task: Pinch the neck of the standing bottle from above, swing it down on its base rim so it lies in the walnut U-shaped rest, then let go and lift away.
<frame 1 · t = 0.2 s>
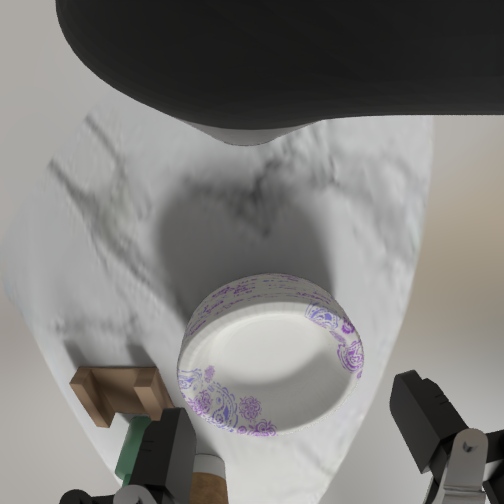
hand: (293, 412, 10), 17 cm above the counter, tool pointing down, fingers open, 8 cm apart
coffee cup: (206, 461, 37), on the counter
bottle: (147, 427, 34), on the counter
paper bowls: (265, 329, 29), on the counter
cradle: (127, 391, 32), on the counter
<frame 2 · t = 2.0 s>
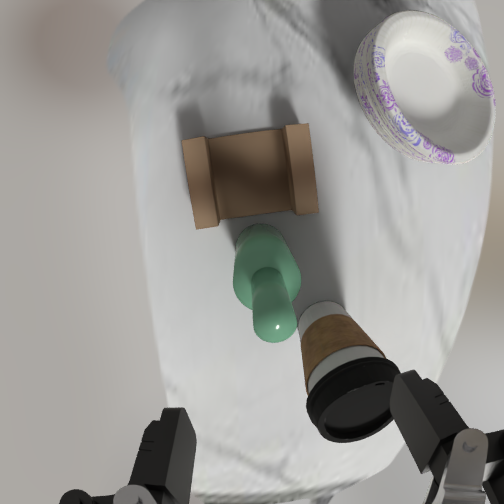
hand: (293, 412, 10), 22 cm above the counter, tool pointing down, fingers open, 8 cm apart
coffee cup: (322, 322, 33), on the counter
bottle: (260, 247, 30), on the counter
paper bowls: (404, 95, 26), on the counter
cradle: (250, 173, 28), on the counter
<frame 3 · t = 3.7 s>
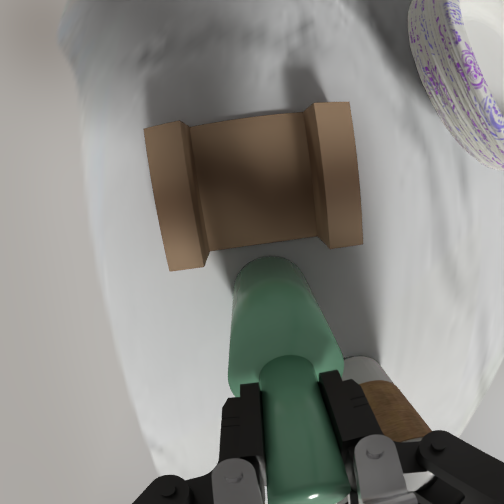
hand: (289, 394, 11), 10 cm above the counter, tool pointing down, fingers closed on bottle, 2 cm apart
coffee cup: (349, 380, 23), on the counter
bottle: (270, 291, 20), on the counter, touching gripper
paper bowls: (461, 77, 16), on the counter
cradle: (255, 180, 18), on the counter
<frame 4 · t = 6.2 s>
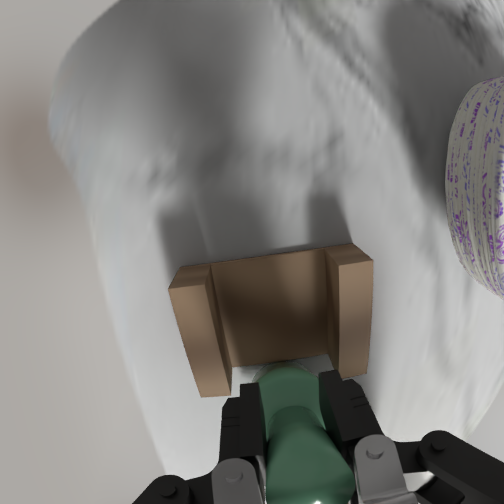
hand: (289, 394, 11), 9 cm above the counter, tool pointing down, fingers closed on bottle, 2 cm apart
bottle: (283, 392, 20), point 1 cm above the counter, tilted 33°, touching cradle, gripper
paper bowls: (486, 179, 17), on the counter
cradle: (274, 312, 20), on the counter
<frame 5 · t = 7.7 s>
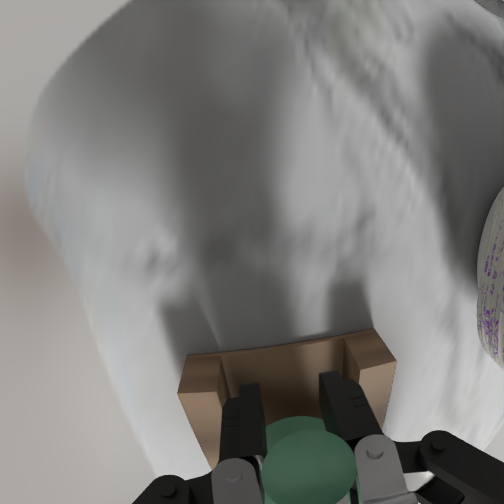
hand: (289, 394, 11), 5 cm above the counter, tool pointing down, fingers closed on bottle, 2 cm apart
bottle: (293, 464, 17), point 2 cm above the counter, tilted 58°, touching cradle, gripper
cradle: (287, 393, 17), on the counter
when the fingers open (3 cm above the counter, at t = 8.5 s): bottle moves 1 cm and tips over, resting on cradle.
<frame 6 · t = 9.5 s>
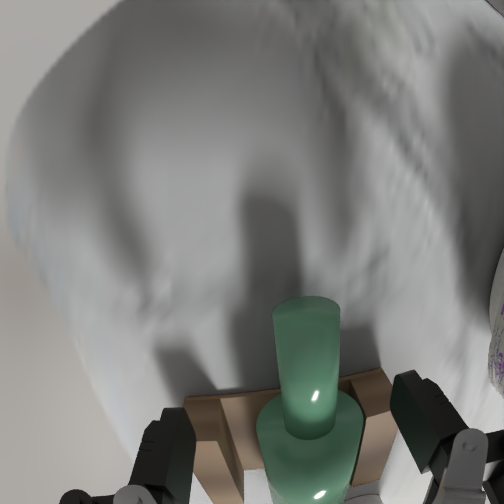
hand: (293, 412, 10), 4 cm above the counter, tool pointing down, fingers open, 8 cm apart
bottle: (309, 494, 15), point 3 cm above the counter, tilted 90°, touching cradle
cradle: (289, 430, 16), on the counter
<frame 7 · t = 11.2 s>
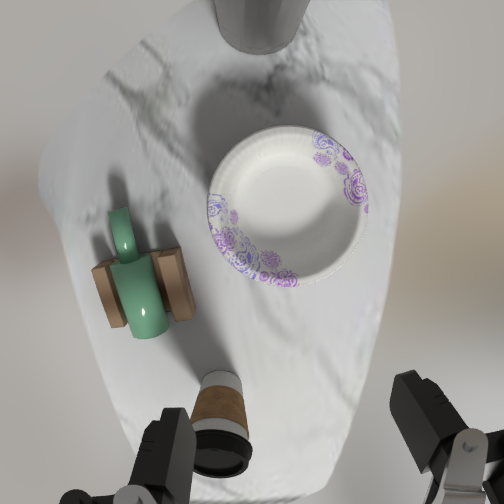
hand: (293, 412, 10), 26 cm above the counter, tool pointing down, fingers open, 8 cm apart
coffee cup: (221, 384, 41), on the counter
bottle: (150, 328, 35), point 3 cm above the counter, tilted 90°, touching cradle
paper bowls: (280, 199, 34), on the counter
cradle: (147, 284, 36), on the counter
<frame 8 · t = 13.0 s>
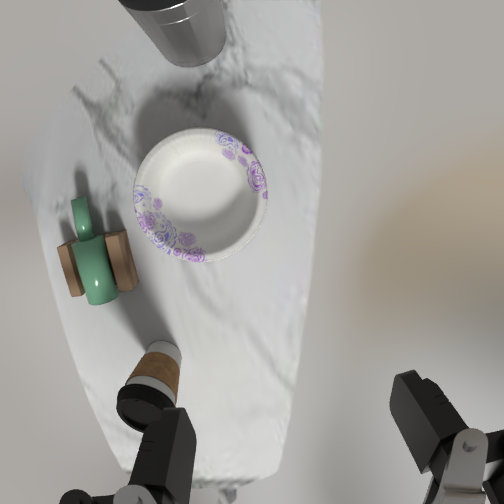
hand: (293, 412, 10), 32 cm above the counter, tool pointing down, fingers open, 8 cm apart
coffee cup: (164, 354, 46), on the counter
bottle: (103, 297, 40), point 3 cm above the counter, tilted 90°, touching cradle
paper bowls: (206, 189, 39), on the counter
cradle: (101, 261, 41), on the counter
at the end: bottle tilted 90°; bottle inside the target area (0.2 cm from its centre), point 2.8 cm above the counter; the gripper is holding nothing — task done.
